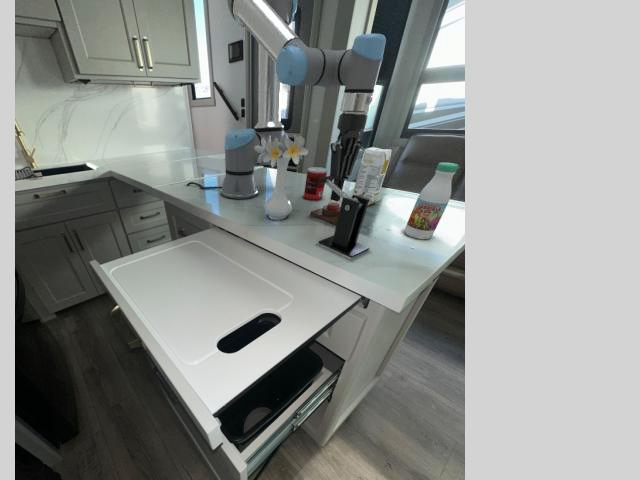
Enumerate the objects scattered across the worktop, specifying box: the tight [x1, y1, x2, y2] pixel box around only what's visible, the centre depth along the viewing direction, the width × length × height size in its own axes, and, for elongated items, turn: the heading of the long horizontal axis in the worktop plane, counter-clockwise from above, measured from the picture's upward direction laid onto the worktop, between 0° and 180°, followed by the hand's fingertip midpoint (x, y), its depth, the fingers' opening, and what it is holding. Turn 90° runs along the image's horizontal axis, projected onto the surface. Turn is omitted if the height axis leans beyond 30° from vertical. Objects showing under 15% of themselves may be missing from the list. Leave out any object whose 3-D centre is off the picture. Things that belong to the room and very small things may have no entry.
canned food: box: [303, 166, 328, 201], centre depth 108 cm, size 8×8×11 cm
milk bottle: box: [403, 162, 459, 240], centre depth 77 cm, size 8×8×20 cm
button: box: [327, 201, 340, 210], centre depth 89 cm, size 4×4×2 cm
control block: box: [309, 204, 341, 227], centre depth 91 cm, size 11×9×4 cm
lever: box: [317, 175, 363, 211], centre depth 69 cm, size 13×5×2 cm, turn 36°
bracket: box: [318, 194, 370, 259], centre depth 71 cm, size 11×8×14 cm
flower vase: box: [254, 133, 309, 221], centre depth 86 cm, size 13×18×25 cm
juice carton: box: [352, 146, 393, 206], centre depth 101 cm, size 8×9×19 cm
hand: (334, 199), depth 88 cm, fingers closed
